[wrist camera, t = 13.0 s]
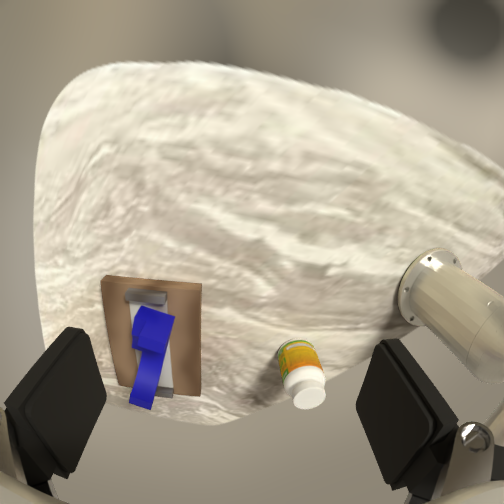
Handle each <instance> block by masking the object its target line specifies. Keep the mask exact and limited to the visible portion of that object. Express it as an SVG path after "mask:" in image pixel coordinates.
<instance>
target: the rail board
mask: <svg viewBox="0 0 504 504" xmlns="http://www.w3.org/2000/svg"><path fill="white" fill-rule="evenodd" d="M101 290H102V298H103V305H104V312H105V318H106V325H107V330H108V336H109V341H110V347H111V352H112V356H113V361H114V366H115V370H116V374H117V379H118V383H119V385H121V386H126V387H131V388H133V386H134V382H135V379H136V376H137V372H138V368H139V364H140V360H141V355H142V351H139V350H137V349H134V348H132V328H133V322H134V317H135V315H136V313H137V312H138V310H139V308H140V307H141V305H142V306H145V307H148V308H151V309H154V310H157V311H160V312H163V313H166V314H169V315H172V316H175V319H174V323H173V327H172V331H171V334H170V338H169V342H168V346H167V350H166V354H165V358H164V362H163V366H162V371H161V375H160V379H159V383H158V386H157V390H156V393H155V396H158V397H165V398H173V394H180V395H189V396H200V394H201V292H202V284H199V283H186V282H174V281H162V280H151V279H141V278H131V277H121V276H111V275H106V276H105V277H104V278H103V279H102V280H101Z"/></svg>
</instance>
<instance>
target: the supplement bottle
mask: <svg viewBox="0 0 504 504" xmlns="http://www.w3.org/2000/svg"><path fill="white" fill-rule="evenodd" d="M278 361H279V366H280V371H281V376H282V381H283V386H284V389H285V391H286V393H287V394H288V395H289V396H291V397H292V400H293V403H294V405H295V406H296V407H297V408H300V409H311V408H314V407H316V406H318V405H320V404H321V403H322V402H323V401H324V399H325V396H326V394H325V390H324V385H325V380H326V379H325V375H324V372H323V369H322V367H321V364H320V361H319V359H318V356H317V354H316V351H315V349H314V346H313V345H312V343H311V342H309V341H308V340H306V339H302V338H296V339H292V340H289V341H287V342H286V343H284V344H283V345H282V346H281V347H280V349H279V351H278Z"/></svg>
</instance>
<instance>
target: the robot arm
mask: <svg viewBox="0 0 504 504" xmlns="http://www.w3.org/2000/svg"><path fill="white" fill-rule="evenodd" d="M398 306H399V310H400V313H401V315H402V316H403V317H404V318H405V320H406V321H407V322H408V323H410V324H412V325H414V326H427V327H428V328H429V329H430V330H431V331H432V332H433V333H434V334H435V335H436V336H437V337H438V338H439V339H440V340H441V341H442V343H443V344H444V345H445V346H446V347H447V348H448V349H449V350H450V351H451V352H452V353H453V354H454V355H455V356H456V357H457V358H458V360H459V361H461V363H462V364H463V365H464V366H465V367H466V368H467V369H468V370H469V371H470V372H471V373H472V375H473V376H474V377H475V378H477V379H478V380H480V381H482V382H485V383H490V384H495V383H503V382H504V297H503V296H502V295H500V294H499V293H497V292H496V291H494V290H493V289H491V288H490V287H488V286H487V285H485V284H483V283H482V282H480V281H479V280H477V279H476V278H474V277H472V276H471V275H469V274H467V273H466V272H464V271H463V270H462V266H461V263H460V261H459V259H458V257H457V256H456V255H455V254H454V253H452V252H450V251H449V250H446V249H443V248H436V249H431V250H429V251H427V252H425V253H423V254H422V255H420V256H419V257H418V258H417V259H416V260H415V261H414V262H413V263H412V264H411V266H410V267H409V268H408V270H407V271H406V273H405V275H404V277H403V279H402V281H401V284H400V288H399V293H398ZM106 397H107V395H106V390H105V387H104V384H103V381H102V378H101V375H100V372H99V369H98V366H97V362H96V359H95V355H94V352H93V348H92V345H91V341H90V337H89V335H88V334H86V333H85V331H84V330H83V329H80V328H74V327H67V328H65V330H64V331H63V332H62V333H61V334H60V335H59V336H58V337H57V338H56V340H55V341H54V342H53V343H52V344H51V345H50V346H49V348H48V349H47V350H46V351H45V352H44V354H43V355H42V356H41V357H40V358H39V359H38V361H37V362H36V363H35V364H34V365H33V367H32V368H31V369H30V370H29V371H28V373H27V374H26V375H25V377H24V378H23V379H22V380H21V381H20V383H19V384H18V385H17V387H16V388H15V389H14V390H13V392H12V393H11V394H10V396H9V397H8V398H7V400H6V401H5V402H4V404H5V405H6V407H7V408H6V410H5V411H4V410H3V409H2V408H1V407H0V504H68V503H66V502H63V501H61V500H59V498H58V495H57V493H56V490H55V488H54V485H53V483H52V479H51V477H52V475H53V473H54V474H56V475H58V476H61V477H63V478H66V479H68V477H69V474H70V473H73V472H74V471H75V469H76V467H77V465H78V462H79V460H80V458H81V455H82V453H83V451H84V448H85V446H86V444H87V441H88V439H89V437H90V435H91V432H92V430H93V428H94V426H95V423H96V421H97V419H98V417H99V415H100V413H101V410H102V408H103V406H104V404H105V402H106ZM356 410H357V413H358V416H359V418H360V420H361V423H362V425H363V428H364V430H365V433H366V435H367V438H368V440H369V443H370V445H371V448H372V450H373V453H374V455H375V458H376V460H377V463H378V466H379V468H380V471H381V473H382V476H383V479H384V481H385V483H386V484H390V486H391V488H392V490H396V489H400V488H402V487H406V486H407V488H408V491H409V493H408V495H407V498H406V500H405V502H404V504H504V399H503V400H502V401H501V403H500V404H499V405H498V407H497V408H496V409H495V410H494V411H493V413H492V414H491V415H490V416H489V418H488V419H487V420H486V421H485V422H484V423H483V424H482V423H479V422H474V421H471V422H466V423H464V424H462V425H461V426H460V427H459V426H458V425H457V422H458V418H457V417H456V415H455V414H454V412H453V411H452V409H451V408H450V407H449V405H448V404H447V402H446V401H445V399H444V398H443V397H442V395H441V394H440V393H439V391H438V390H437V389H436V387H435V386H434V384H433V383H432V382H431V380H430V379H429V378H428V376H427V375H426V374H425V373H424V371H423V370H422V368H421V367H420V366H419V364H418V363H417V362H416V360H415V359H414V358H413V356H412V355H411V354H410V352H409V351H408V350H407V349H406V347H405V346H404V345H403V344H402V342H401V341H400V340H399V339H386V340H382V341H381V342H380V343H379V344H378V345H376V346H375V349H374V352H373V355H372V358H371V361H370V364H369V367H368V370H367V373H366V376H365V379H364V382H363V385H362V387H361V390H360V393H359V396H358V398H357V401H356Z"/></svg>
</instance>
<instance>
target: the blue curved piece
mask: <svg viewBox="0 0 504 504" xmlns="http://www.w3.org/2000/svg"><path fill="white" fill-rule="evenodd" d="M174 319H175V316H172V315H169V314H166V313H163V312H160V311H157V310H154V309H151V308H148V307H145V306H142V305H141V307H140V308H139V310H138V312H137V313H136V315H135V317H134V322H133V328H132V348H134V349H137V350H139V351H142V355H141V360H140V364H139V368H138V372H137V376H136V379H135V382H134V386H133V389H132V392H131V394H130V399H129V403H131V404H134V405H137V406H140V407H143V408H146V409H149V410H151V407H152V403H153V400H154V397H155V393H156V390H157V386H158V383H159V379H160V375H161V371H162V366H163V362H164V358H165V354H166V350H167V346H168V342H169V338H170V334H171V331H172V327H173V323H174Z"/></svg>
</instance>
